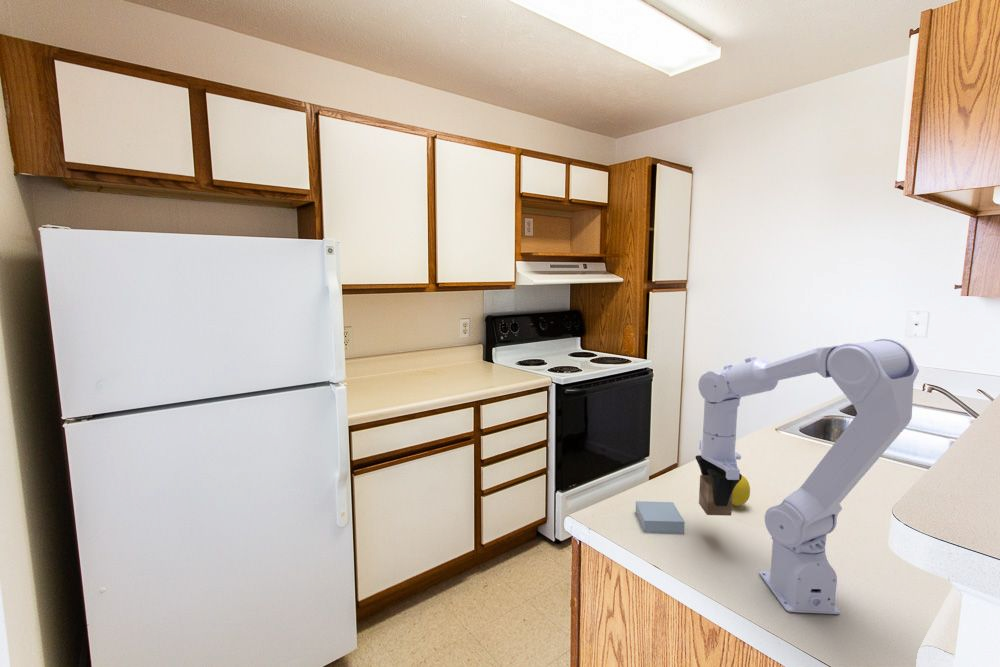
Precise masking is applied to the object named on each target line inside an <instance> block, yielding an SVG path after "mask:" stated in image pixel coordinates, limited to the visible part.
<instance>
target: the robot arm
mask: <svg viewBox="0 0 1000 667" xmlns="http://www.w3.org/2000/svg"><path fill="white" fill-rule="evenodd" d="M919 371H920V370H919V368H918V366H917V364H916V361H915V360H914V357H913V356H912V353H911V352H910V351H909V349H908V348H907V347H906V346H905V345H904V344H903V343H901V342H899V341H897V340H894V339H892V338H891V339H889V338H879V339H875V340H873V341H863V342H851V343H850V342H849V343H843V344H838V345H830V346H822V347H816V348H813V349H810V350H806V351H803V352H800V353H797V354H795V355H791V356H788V357H785V358H783V359H779V360H775V361H773V362H770V361H769V360H767V359H765V358H757V357H756V356H750V357H747V358H745V359H744V362H742V363H740V364H737V365H732V364H727V365H725V366H723V369H722V370H716V371H715V370H714V371H713V370H708V371H706V372H705V373H704V374H702V375H701V376H700V377H699V380H698V390H699V393H700V396H701V397H702V398H703V399H704V404H703V429H702V439H701V440H699V450H700V455H699V454H698V455H696V456H695V460H696V462H697V464H698V467H699V470H700V475H709V476H710V479H711V482H712V487H713V498H714V503H715V505H716V506H727V505H728V502H729V499H730V497H731V494H732V492H733V489H734V488H735V486H736V485H737V483H738V482H739V481H740V480H741V478H742V475H743V474H742V473H740V472H741V470H740V469H739V467H738V463H737V460H741V459H742V455H741V454H740V453H739V452H736V442H737V440H736V438H737V423H738V422H737V420H738V409H739V407H740V404H741V400H742V398H743V397H744V398H745V397H748V396H752V395H757V394H760V393H761V394H762V393H766V392H770V391H773V390H774V389H776V387H777V386H778V383H779V381H781V380H787V379H791V378H796V377H801V376H805V375H806V376H807V375H810V374H815V373H817V374H819V375H820V376H821V377H822V378H825V379H828V378H831V379H832V380H833V382H834V383H835V384H836V385H837V387H838V388H839V389H840V390H841V391H842V393H843V394H844V395H845V396H846V398H847V399H848V400H849V402H850V403H851V404H852V406H853V407H854V409H855V411H856V415H855V416H854V417H853V419H852V420H851V421H850V423H849V424H848V425H847V427H846V428H845V429H844V431H842V433H841V434H840V436H839V437H838V438H837V439H836V441H834V443H833V445H832V446H831V447H830V449H829V450H828V451H827V452H826V454H825V455H824V456H823V457H822V458H821V460H820V462H818V464H817V465H816V466H815V467H814V469H813V470H812V472H811V473H809V475H808V477H807V478H806V480H805V481H804V482H803V484H801V486H800V487H799V488H798V489H796V490H795V491H793V492H792V493H791V494H789V495H788V496H786V497H784V499H783V500H782V502H781V503H780V504H778V505H774V506H770V507H769V508H768V509H767V510H766V512H765V514H764V524H765V527H766V530H767V532H768V534H769V535H770V536H771V540H772V548H771V558H770V571H769V570H760V571H759V572H758V575H759V576H760V577H761V579H762V580H763V581H764V582H765V583H766V585H767V586H768V588H769V590H770V591H771V592H772V593H773V595H774V596H775V597H776V598H777V600H778V601H779V603H780V604H781V605H782V607H783V608H784V609H785V610H786V612H788V613H789V612H790V613H803V614H804V613H806V614H807V613H809V614H827V615H828V614H830V615H839V614H840V613H841V611H840V609H839V608H838V606H836V605H835V603H836V594H837V582H838V575H837V573H836V571H835V570H834V568H833V566H832V565H831V564H830V562H829V560H828V558H827V553H826V542H827V536H828V535H829V534H831V533H832V532H834V531H835V530H836V527H837V523H838V522H837V519H838V515H839V513H840V512H841V511H842V510H843V507H842V505H841V503H842V501H844V499H846V497H847V496H848V495H849V493H850V492H851V491H852V490H853V489H854V488H855V487H856V485H857V484H858V483H859V482H860V481H861V479H863V477H864V476H865V475H866V474H867V473H868V471H869V470H871V468H872V467H873V466H874V464H875V463H876V462H877V461H878V460H879V459H880V458H881V457H882V455H883V454H884V453H885V452H886V451H887V450H888V448H889V447H890V446H891V445H892V444H893V443H894V441H895V440H896V439H897V438H898V437H899V436H900V435H901V433H903V431H904V430H905V429H906V428H907V427H908V425H909V423H911V420H912V418H913V399H914V398H913V396H914V383H915V380H916V378H917V376H918V374H919Z"/></svg>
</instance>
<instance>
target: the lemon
mask: <svg viewBox="0 0 1000 667" xmlns="http://www.w3.org/2000/svg"><path fill="white" fill-rule="evenodd" d="M741 475H742V478H741V480H740V481H739V482H738V483H737V485H736V486H735V488H734V489H733V494H732V507H738V506H743V505H744V504H746V503H747V502H748V501H749V499H750V496H751V487H750V483H749V481H748V479H747V478H746V477H745V476H744V475H743V474H741Z"/></svg>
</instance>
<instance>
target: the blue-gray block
mask: <svg viewBox="0 0 1000 667" xmlns="http://www.w3.org/2000/svg"><path fill="white" fill-rule="evenodd" d="M635 514H636V517H637V519H638V521H639V524H640V526H641V529H642V531H643V533H647V534H675V535H676V534H680V535H684V534H685V524H686V522H685V520H684V518H683V516H682V515H681V512H679V510H678V508H677V507H676V505H675V503H674V502H673V501H646V500H645V501H640V500H639V501H638V500H637V501H636V500H635Z"/></svg>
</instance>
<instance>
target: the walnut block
mask: <svg viewBox="0 0 1000 667" xmlns="http://www.w3.org/2000/svg"><path fill="white" fill-rule="evenodd" d="M698 492H699V494H698V504H699V505H700V506H699V507H701V509H702V510H703V511H704V513H705V515H707V516H724V517H725V516H728V517H729V516H730V517H731V516H732V512H733V510H732V507H733V504H732V494H733V492H732V494H731V497H730V499H729V502H728V505H727V506H716V505H715V503H714V498H713V487H712V482H711V479H710V476H709V475H702V474H700V475H699V491H698Z"/></svg>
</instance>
